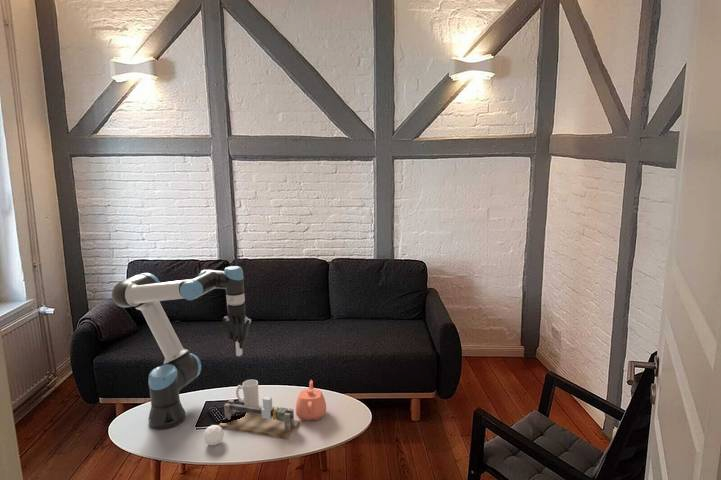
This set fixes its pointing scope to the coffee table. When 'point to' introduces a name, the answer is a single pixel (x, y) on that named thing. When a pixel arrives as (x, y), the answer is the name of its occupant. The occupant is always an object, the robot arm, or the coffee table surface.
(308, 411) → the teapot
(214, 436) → the geometric ball
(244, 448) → the coffee table surface
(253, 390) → the mug
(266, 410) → the white stepped block
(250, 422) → the din rail terminal board
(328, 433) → the coffee table surface
